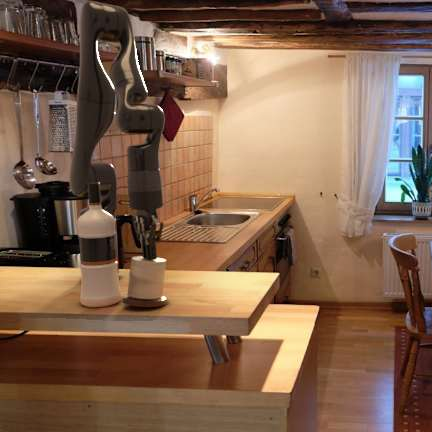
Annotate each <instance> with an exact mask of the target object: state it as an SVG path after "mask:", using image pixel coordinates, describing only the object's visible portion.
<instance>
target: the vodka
mask: <svg viewBox="0 0 432 432" xmlns="http://www.w3.org/2000/svg"><path fill="white" fill-rule="evenodd" d="M88 192H89V197H88V206H89V210H88V211H87V212H86V213H84V214H83V215H82V216H80V217H79V216H78V219H77V221H76V226H77V227H76V228H77V237H78V243H79V245H78V246H79V255H80V256H79V258H80V259H79V260H80V263H79V268H80V275H81V277H80V278H81V279H80V281H81V283H80V284H81V285H80V294H79V302H80V304H81V305H83V306H84V307H88V308H105V307H109V306H114V305H115V304H117V303H119V302H120V301H122V297H123V294H122V292H123V291H122V290H121V285H120V278H119V279H118V271H117V264H118V263H119V261H118V262H117V254H116V237H115V233H116V231H115V219H114V217H113V216H112V215H111V214H109V213H107V212H106V211H104V210H102V208H101V197H100V183H98V182H91V183H88Z"/></svg>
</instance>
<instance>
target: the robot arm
mask: <svg viewBox="0 0 432 432" xmlns="http://www.w3.org/2000/svg"><path fill="white" fill-rule="evenodd" d="M135 40H136V39H135V35H134V30H133V24H132V20H131V17H130V14H129V12H128V11H127V10H126V9H125V8H124V7H122V6H118V5H114V4H108V3H103V2H99V1H94V0H86V1H84V2H83V3H82V5H81V9H80V13H79V73H78V83H77V94H76V108H75V109H76V114H75V117H76V118H75V131H74V132H75V133H74V143H73V147H72V148H73V149H72V154H71V160H70V167H69V177H68V179H69V180H68V181H69V182H68V183H69V188H70V191H71V192H72V194H73V195H74V196H75V197H77V198H78V197H79V198H89V192H88V183H91V182H98V183H100V197H101V208H102V210H104V211H106V212H107V213H109V214H111V215H112V216H113V217H114V219H115V231H116V233H115V237H116V254H117V262H118V264H117V271H118V279H119V280H120V268H119V267H120V266H119V250H118V249H119V248H118V233H117V231H118V230H117V211H118V177H117V172H116V170H115V167H114V166H113V164H112V163H109V162H104V161H103V162H102V161H100V162H92V160H93V156H94V152H95V150H96V147H97V145H98V144H99V143H100V141H101V140H102V139H103V137H104V136H105V134H106V133H107V132H108V131H109V129H110V128H111V126H112V125H113V123H114V121H115V123H116V126H117V128H118V130H119V131H121V133H123V134H126V135H146V137H145V139H144V140H143V141H142V142H140V143H135V144H132V145H129V146H127V148H126V162H127V163H126V164H127V181H126V182H127V193H128V194H127V196H128V207H129V209H131V210H136V216H132V218H131V222H132V224H133V227H134V231H135V235H136V238H137V240H139V242H140V244H141V250H142V251H141V252H142V256H143V258H145V259H146V258H147V260H154V259H156V258H158V257H157V245H158V244H160V243H161V240H162V239H161V238H162V235H163V231H164V230H163V229H164V222H163V221H159V215H158V211H157V210H158V209H161V208H162V207H163V206H164V199H163V183H162V182H163V181H162V174H161V170H160V147H161V145H160V144H161V141H162V135H163V131H164V129H165V121H166V118H165V117H166V116H165V113H164V111H163V109H162V108H161V107H160V106H159V105H157V104H154V103H145V101H147V99H148V90H147V86H146V84H145V81H144V77H143V75H142V72H141V70H140V65H139V62H138V61H139V60H138V55H137V48H136V41H135ZM98 41H100V42H106V43H113V44H118V46H119V50H118V53H117V55H116V56H115V58H114V59H113V61H112V63H111V65H110V69H109V76H108V74H107V72H106V71H105V69H104V67H103V65H102V62H101V60H100V57H99V56H100V55H99V51H98ZM88 210H89V205H88V206H86V207H84V208H82V209H81V210H79V212H78V218H79V217H80V216H82V215H83V214H84V213H86V212H87V211H88Z"/></svg>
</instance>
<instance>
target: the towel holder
mask: <svg viewBox="0 0 432 432" xmlns="http://www.w3.org/2000/svg"><path fill="white" fill-rule="evenodd" d="M167 263H168V262H167V259H165V258H162V257H157V258H156V259H154V260H147V258H146V259H145V258H143V255H142V256H138V255H137V256H132V257H131V259H130V268H129V275H128V283H127V284H128V285H127V292H126V294H122V298H121V302H122V303H123V304H125V305H127V306H132V307H139V308H156V307H162V306H164V305H166V304H167V297H166V296H165V295H164V286H165V277H166V269H167Z"/></svg>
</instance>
